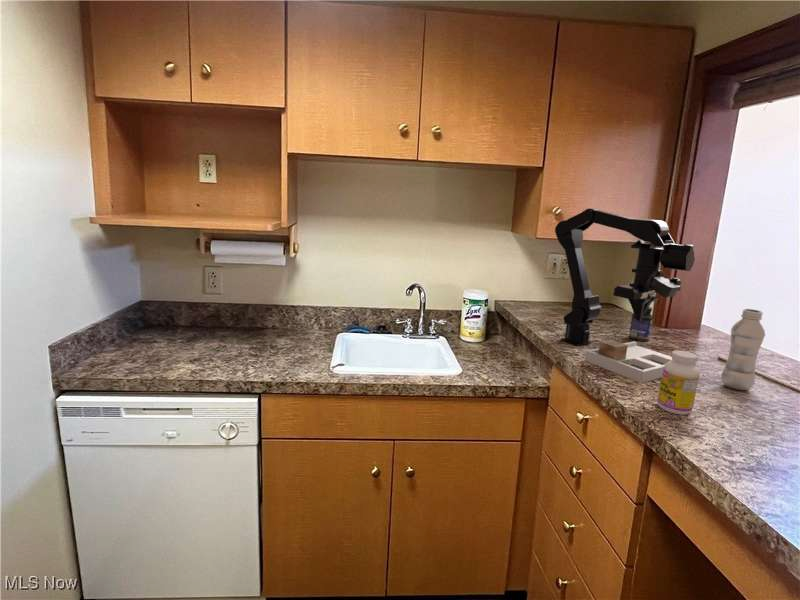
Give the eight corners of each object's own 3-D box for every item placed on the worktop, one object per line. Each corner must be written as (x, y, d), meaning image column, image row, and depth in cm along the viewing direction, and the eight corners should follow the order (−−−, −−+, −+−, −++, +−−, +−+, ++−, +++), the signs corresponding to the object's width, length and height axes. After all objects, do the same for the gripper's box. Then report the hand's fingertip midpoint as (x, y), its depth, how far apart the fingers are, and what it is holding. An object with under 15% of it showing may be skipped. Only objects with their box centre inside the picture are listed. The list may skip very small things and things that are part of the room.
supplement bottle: (650, 401, 101) (660, 348, 98) (677, 402, 102) (688, 348, 99) (669, 416, 94) (681, 359, 92) (698, 416, 95) (711, 359, 92)
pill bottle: (651, 342, 146) (657, 310, 143) (631, 340, 147) (637, 308, 144) (645, 337, 152) (651, 305, 149) (626, 335, 153) (631, 304, 150)
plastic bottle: (754, 396, 107) (773, 315, 102) (719, 388, 110) (737, 310, 106) (750, 387, 112) (768, 310, 108) (718, 380, 116) (734, 306, 111)
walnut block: (598, 355, 125) (600, 341, 124) (609, 353, 127) (611, 339, 126) (614, 361, 120) (616, 347, 120) (625, 358, 123) (627, 345, 122)
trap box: (584, 360, 126) (586, 350, 125) (632, 350, 137) (634, 341, 136) (641, 383, 112) (643, 371, 111) (689, 369, 122) (692, 359, 122)
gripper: (655, 272, 112) (645, 331, 115) (696, 269, 121) (686, 324, 124) (616, 265, 121) (608, 320, 125) (656, 263, 130) (648, 314, 134)
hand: (638, 320), depth 127 cm, fingers closed
